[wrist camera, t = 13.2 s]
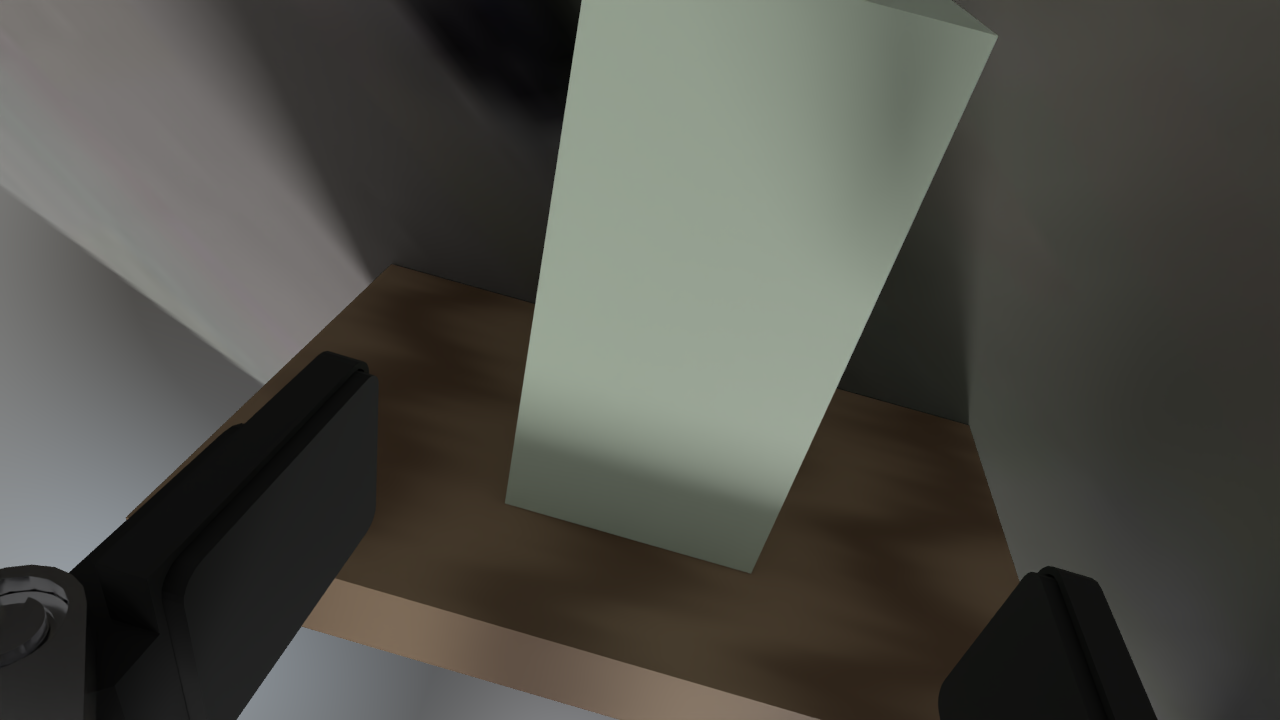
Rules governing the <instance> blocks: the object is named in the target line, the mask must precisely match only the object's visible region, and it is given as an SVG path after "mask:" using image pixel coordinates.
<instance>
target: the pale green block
mask: <svg viewBox="0 0 1280 720" xmlns="http://www.w3.org/2000/svg"><path fill="white" fill-rule="evenodd" d="M997 38H998V35H997V34H995V33H994V32H993V31H991V30H990V29H989V28H987V27H986V26H985V25H983V24H982V23H981V22H980V21H978V20H977V19H976V18H974V17H973V16H972V15H970V14H969V13H968V12H966V11H965V10H964V9H963V8H961V7H960V6H959V5H957V4H956V3H955V2H953V1H952V0H582V2H581V9H580V15H579V22H578V28H577V35H576V42H575V48H574V55H573V61H572V68H571V74H570V81H569V87H568V94H567V100H566V107H565V113H564V120H563V126H562V133H561V139H560V146H559V153H558V159H557V166H556V172H555V179H554V185H553V192H552V198H551V205H550V211H549V218H548V224H547V231H546V237H545V244H544V250H543V257H542V264H541V270H540V277H539V283H538V290H537V296H536V303H535V309H534V316H533V322H532V329H531V335H530V342H529V348H528V355H527V362H526V368H525V375H524V381H523V388H522V394H521V401H520V407H519V414H518V420H517V427H516V433H515V440H514V446H513V453H512V459H511V466H510V473H509V479H508V486H507V492H506V499H505V504H509V505H512V506H516V507H519V508H523V509H526V510H530V511H533V512H537V513H540V514H544V515H547V516H551V517H554V518H558V519H561V520H565V521H568V522H572V523H575V524H579V525H582V526H586V527H589V528H593V529H596V530H600V531H603V532H607V533H610V534H614V535H617V536H621V537H624V538H628V539H631V540H635V541H638V542H642V543H645V544H649V545H652V546H656V547H659V548H663V549H666V550H670V551H673V552H677V553H680V554H684V555H687V556H691V557H694V558H698V559H701V560H705V561H708V562H712V563H715V564H719V565H722V566H726V567H729V568H733V569H736V570H740V571H743V572H747V573H750V574H751V573H752V570H753V568H754V566H755V564H756V562H757V560H758V557H759V555H760V553H761V551H762V549H763V547H764V544H765V542H766V540H767V538H768V536H769V534H770V531H771V529H772V527H773V525H774V523H775V520H776V518H777V516H778V514H779V512H780V510H781V507H782V505H783V503H784V501H785V499H786V497H787V494H788V492H789V490H790V488H791V486H792V484H793V481H794V479H795V477H796V475H797V473H798V470H799V468H800V466H801V464H802V462H803V460H804V457H805V455H806V453H807V451H808V449H809V447H810V444H811V442H812V440H813V438H814V436H815V434H816V431H817V429H818V427H819V425H820V423H821V420H822V418H823V416H824V414H825V412H826V410H827V407H828V405H829V403H830V401H831V399H832V397H833V394H834V392H835V390H836V388H837V386H838V384H839V381H840V379H841V377H842V375H843V373H844V371H845V368H846V366H847V364H848V362H849V360H850V357H851V355H852V353H853V351H854V349H855V347H856V344H857V342H858V340H859V338H860V336H861V334H862V331H863V329H864V327H865V325H866V323H867V321H868V318H869V316H870V314H871V312H872V310H873V307H874V305H875V303H876V301H877V299H878V297H879V294H880V292H881V290H882V288H883V286H884V284H885V281H886V279H887V277H888V275H889V273H890V271H891V268H892V266H893V264H894V262H895V260H896V257H897V255H898V253H899V251H900V249H901V247H902V244H903V242H904V240H905V238H906V236H907V234H908V231H909V229H910V227H911V225H912V223H913V221H914V218H915V216H916V214H917V212H918V210H919V207H920V205H921V203H922V201H923V199H924V197H925V194H926V192H927V190H928V188H929V186H930V184H931V181H932V179H933V177H934V175H935V173H936V171H937V168H938V166H939V164H940V162H941V160H942V157H943V155H944V153H945V151H946V149H947V147H948V144H949V142H950V140H951V138H952V136H953V134H954V131H955V129H956V127H957V125H958V123H959V121H960V118H961V116H962V114H963V112H964V110H965V107H966V105H967V103H968V101H969V99H970V97H971V94H972V92H973V90H974V88H975V86H976V84H977V81H978V79H979V77H980V75H981V73H982V71H983V68H984V66H985V64H986V62H987V60H988V58H989V55H990V53H991V51H992V49H993V47H994V44H995V42H996V40H997Z"/></svg>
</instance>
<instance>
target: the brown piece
mask: <svg viewBox="0 0 1280 720" xmlns="http://www.w3.org/2000/svg"><path fill="white" fill-rule="evenodd" d="M534 309H535V304H533V303H529V302H526V301H522V300H518V299H515V298H511V297H508V296H504V295H501V294H497V293H493V292H490V291H486V290H483V289H479V288H475V287H472V286H468V285H465V284H461V283H458V282H454V281H450V280H447V279H443V278H440V277H436V276H433V275H429V274H425V273H422V272H418V271H415V270H411V269H407V268H404V267H400V266H397V265H393V264H391V265H390V266H389V267H388V268H387V269H386V270H385V271H384V272H383V273H382V274H380V275H379V276H378V277H377V278H376V279H375V280H374V281H373V282H372V283H371V284H370V285H369V286H368V287H367V288H366V289H365V290H364V291H363V292H362V293H361V294H359V295H358V296H357V297H356V298H355V299H354V300H353V301H352V302H351V303H350V304H349V305H348V306H347V307H346V308H345V309H344V310H343V311H342V312H341V313H340V314H339V315H337V316H336V317H335V318H334V319H333V320H332V321H331V322H330V323H329V324H328V325H327V326H326V327H325V328H324V329H323V330H322V331H321V332H320V333H319V334H318V335H317V336H315V337H314V338H313V339H312V340H311V341H310V342H309V343H308V344H307V345H306V346H305V347H304V348H303V349H302V350H301V351H300V352H299V353H298V354H297V355H296V356H295V357H293V358H292V359H291V360H290V361H289V362H288V363H287V364H286V365H285V366H284V367H283V368H282V369H281V370H280V371H279V372H278V373H277V374H276V375H275V376H274V377H273V378H271V379H270V380H269V381H268V382H267V383H266V384H265V385H264V386H263V387H262V388H261V389H260V390H259V391H258V392H257V393H256V394H255V395H254V396H253V397H252V398H251V399H249V400H248V401H247V402H246V403H245V404H244V405H243V406H242V407H241V408H240V409H239V410H238V411H237V412H236V413H235V414H234V415H233V416H232V417H231V418H230V419H228V420H227V422H225V423H224V424H223V425H222V426H221V427H220V428H219V429H218V430H217V431H216V432H215V433H214V434H213V435H212V436H211V437H210V438H209V439H208V440H207V441H205V442H204V443H203V444H202V445H201V446H200V447H199V448H198V449H197V450H196V451H195V452H194V453H193V454H192V455H191V456H190V457H189V458H188V459H187V460H186V461H184V462H183V463H182V465H180V466H179V467H178V468H177V469H176V470H175V471H174V472H173V473H172V474H171V475H170V476H169V477H168V478H167V479H166V480H165V481H164V482H162V484H160V485H159V486H158V487H157V488H156V489H155V490H154V491H153V492H152V493H151V494H150V495H149V496H148V497H147V498H146V499H145V500H144V501H143V502H142V503H141V504H139V505H138V506H137V507H136V508H135V509H134V510H133V511H132V512H131V513H130V514H129V515H128V516H127V517H126V520H127V519H128V518H130V517H131V516H132V515H133V514H134V513H135V512H136V511H137V510H138V509H139V508H141V507H142V506H143V505H144V504H145V503H146V502H147V501H148V500H149V499H150V498H152V497H153V496H154V495H155V494H156V493H157V492H158V491H159V490H160V489H161V488H162V487H164V486H165V485H166V484H167V483H168V482H169V481H170V480H171V479H172V478H173V477H175V476H176V475H177V474H178V473H179V472H180V471H181V470H182V469H183V468H184V467H186V466H187V465H188V464H189V463H190V462H191V461H192V460H193V459H194V458H195V457H197V456H198V455H199V454H200V453H201V452H202V451H203V450H204V449H205V448H206V447H207V446H209V445H210V444H211V443H212V442H213V441H214V440H215V439H216V438H217V437H218V436H220V435H221V434H222V433H223V432H224V431H226V430H227V429H229V428H230V427H231V426H233V425H237V424H240V423H243V424H245V423H246V422H247V421H248V420H249V419H250V418H251V417H252V416H253V415H254V414H255V413H256V412H257V411H259V410H260V409H261V408H262V407H263V406H264V405H265V404H266V403H267V402H268V401H269V400H270V399H271V398H273V397H274V396H275V395H276V394H277V393H278V392H279V391H280V390H281V389H282V388H283V387H284V386H285V385H287V384H288V383H289V382H290V381H291V380H292V379H293V378H294V377H295V376H296V375H297V374H298V373H299V372H300V371H302V370H303V369H304V368H305V367H306V366H307V365H308V364H309V363H310V362H311V361H312V360H313V359H314V358H316V357H317V356H318V355H319V354H320V353H322V352H324V351H330V352H334V353H337V354H340V355H344V356H347V357H351V358H354V359H357V360H361V361H364V362H365V363H367V365H368V367H369V374H372V375H375V376H377V378H378V382H379V396H378V439H377V482H376V510H375V515H374V518H373V521H372V523H371V526H370V528H369V529H368V531H367V533H366V534H365V536H364V537H363V539H362V540H361V541H360V543H359V544H358V546H357V547H356V549H355V550H354V552H353V553H352V554H351V556H350V557H349V559H348V560H347V562H346V563H345V564H344V566H343V567H342V569H341V570H340V572H339V573H338V575H337V576H336V577H335V579H334V580H333V582H332V583H331V585H330V586H329V587H328V589H327V590H326V592H325V593H324V595H323V596H322V597H321V599H320V600H319V602H318V603H317V605H316V606H315V608H314V609H313V610H312V612H311V613H310V615H309V616H308V618H307V619H306V620H305V622H304V623H303V625H302V627H305V628H309V629H312V630H315V631H319V632H322V633H326V634H330V635H332V636H336V637H339V638H343V639H346V640H350V641H353V642H356V643H360V644H363V645H367V646H370V647H374V648H377V649H380V650H384V651H387V652H391V653H394V654H398V655H401V656H404V657H407V658H411V659H414V660H418V661H421V662H425V663H428V664H431V665H435V666H438V667H442V668H445V669H449V670H452V671H456V672H459V673H462V674H465V675H469V676H472V677H476V678H479V679H483V680H486V681H489V682H493V683H497V684H500V685H503V686H506V687H510V688H513V689H517V690H520V691H524V692H527V693H530V694H534V695H537V696H541V697H544V698H547V699H551V700H554V701H558V702H561V703H564V704H568V705H571V706H575V707H578V708H582V709H585V710H588V711H592V712H595V713H599V714H602V715H605V716H609V717H612V718H616V719H619V720H940V716H939V710H938V696H939V691H940V688H941V685H942V683H943V682H944V680H945V679H946V677H947V676H948V675H949V674H950V672H951V671H952V670H953V668H954V667H955V666H956V664H957V663H958V662H959V661H960V659H961V658H962V657H963V655H964V654H965V653H966V651H967V650H968V649H969V648H970V646H971V645H972V644H973V642H974V641H975V640H976V638H977V637H978V636H979V635H980V633H981V632H982V631H983V629H984V628H985V627H986V625H987V624H988V623H989V622H990V620H991V619H992V618H993V616H994V615H995V614H996V612H997V611H998V610H999V609H1000V607H1001V606H1002V605H1003V603H1004V602H1005V601H1006V599H1007V598H1008V597H1009V596H1010V594H1011V593H1012V592H1013V590H1014V589H1015V588H1016V586H1017V585H1018V584H1019V583H1020V582H1019V579H1018V576H1017V573H1016V569H1015V566H1014V563H1013V560H1012V557H1011V554H1010V551H1009V548H1008V545H1007V541H1006V538H1005V535H1004V532H1003V529H1002V526H1001V523H1000V520H999V517H998V514H997V510H996V507H995V504H994V501H993V498H992V495H991V492H990V489H989V486H988V482H987V479H986V476H985V473H984V470H983V467H982V464H981V461H980V458H979V454H978V451H977V448H976V445H975V442H974V439H973V436H972V433H971V430H970V427H969V425H966V424H962V423H959V422H955V421H951V420H948V419H944V418H941V417H937V416H934V415H930V414H926V413H923V412H919V411H916V410H912V409H909V408H905V407H901V406H898V405H894V404H891V403H887V402H883V401H880V400H876V399H873V398H869V397H866V396H862V395H858V394H855V393H851V392H848V391H844V390H841V389H837V388H836V390H835V392H834V394H833V397H832V399H831V401H830V403H829V405H828V407H827V410H826V412H825V414H824V416H823V418H822V420H821V423H820V425H819V427H818V429H817V431H816V434H815V436H814V438H813V440H812V442H811V444H810V447H809V449H808V451H807V453H806V455H805V457H804V460H803V462H802V464H801V466H800V468H799V470H798V473H797V475H796V477H795V479H794V481H793V484H792V486H791V488H790V490H789V492H788V494H787V497H786V499H785V501H784V503H783V505H782V507H781V510H780V512H779V514H778V516H777V518H776V520H775V523H774V525H773V527H772V529H771V531H770V534H769V536H768V538H767V540H766V542H765V544H764V547H763V549H762V551H761V553H760V555H759V557H758V560H757V562H756V564H755V566H754V568H753V570H752V573H751V574H750V573H747V572H743V571H740V570H736V569H733V568H729V567H726V566H722V565H719V564H715V563H712V562H708V561H705V560H701V559H698V558H694V557H691V556H687V555H684V554H680V553H677V552H673V551H670V550H666V549H663V548H659V547H656V546H652V545H649V544H645V543H642V542H638V541H635V540H631V539H628V538H624V537H621V536H617V535H614V534H610V533H607V532H603V531H600V530H596V529H593V528H589V527H586V526H582V525H579V524H575V523H572V522H568V521H565V520H561V519H558V518H554V517H551V516H547V515H544V514H540V513H537V512H533V511H530V510H526V509H523V508H519V507H516V506H512V505H509V504H505V499H506V492H507V486H508V479H509V473H510V466H511V459H512V453H513V446H514V440H515V433H516V427H517V420H518V414H519V407H520V401H521V394H522V388H523V381H524V375H525V368H526V362H527V355H528V348H529V342H530V335H531V329H532V322H533V316H534Z"/></svg>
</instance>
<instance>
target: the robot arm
mask: <svg viewBox="0 0 1280 720" xmlns="http://www.w3.org/2000/svg"><path fill="white" fill-rule="evenodd" d="M378 396H379V382H378V378H377V376H375V375H372V374H369V367H368V365H367V363H365V362H364V361H361V360H357V359H354V358H351V357H347V356H344V355H340V354H337V353H334V352H330V351H324V352H322V353H320V354H319V355H318V356H317V357H316V358H314V359H313V360H312V361H311V362H310V363H309V364H308V365H307V366H306V367H305V368H304V369H303V370H302V371H300V372H299V373H298V374H297V375H296V376H295V377H294V378H293V379H292V380H291V381H290V382H289V383H288V384H287V385H285V386H284V387H283V388H282V389H281V390H280V391H279V392H278V393H277V394H276V395H275V396H274V397H273V398H271V399H270V400H269V401H268V402H267V403H266V404H265V405H264V406H263V407H262V408H261V409H260V410H259V411H257V412H256V413H255V414H254V415H253V416H252V417H251V418H250V419H249V420H248V421H247V422H246V423H245V424H243V423H240V424H237V425H233V426H231V427H230V428H229V429H227V430H226V431H224V432H223V433H222V434H221V435H220V436H218V437H217V438H216V439H215V440H214V441H213V442H212V443H211V444H210V445H209V446H207V447H206V448H205V449H204V450H203V451H202V452H201V453H200V454H199V455H198V456H197V457H195V458H194V459H193V460H192V461H191V462H190V463H189V464H188V465H187V466H186V467H184V468H183V469H182V470H181V471H180V472H179V473H178V474H177V475H176V476H175V477H173V478H172V479H171V480H170V481H169V482H168V483H167V484H166V485H165V486H164V487H162V488H161V489H160V490H159V491H158V492H157V493H156V494H155V495H154V496H153V497H152V498H150V499H149V500H148V501H147V502H146V503H145V504H144V505H143V506H142V507H141V508H139V509H138V510H137V511H136V512H135V513H134V514H133V515H132V516H131V517H130V518H128V519H127V520H126V521H125V522H124V523H123V524H122V525H121V526H120V527H119V528H118V529H117V530H115V531H114V532H113V533H112V534H111V535H110V536H109V537H108V538H107V539H106V540H104V541H103V542H102V543H101V544H100V545H99V546H98V547H97V548H96V549H95V550H94V551H92V552H91V553H90V554H89V555H88V556H87V557H86V558H85V559H84V560H82V561H81V562H80V563H79V564H78V565H77V566H76V567H75V568H74V569H72V571H70V572H69V573H67V572H65V571H63V570H60V569H58V568H56V567H49V566H39V565H24V566H15V567H6V568H3V569H0V720H237V718H238V717H239V715H240V714H241V712H242V711H243V709H244V708H245V707H246V705H247V704H248V702H249V701H250V699H251V698H252V696H253V695H254V693H255V692H256V691H257V689H258V688H259V686H260V685H261V684H262V682H263V681H264V679H265V678H266V676H267V675H268V674H269V672H270V671H271V669H272V668H273V666H274V665H275V663H276V662H277V661H278V659H279V658H280V656H281V655H282V653H283V652H284V651H285V649H286V648H287V646H288V645H289V643H290V642H291V641H292V639H293V638H294V636H295V635H296V633H297V632H298V630H299V629H300V628H301V626H302V625H303V623H304V622H305V620H306V619H307V618H308V616H309V615H310V613H311V612H312V610H313V609H314V608H315V606H316V605H317V603H318V602H319V600H320V599H321V597H322V596H323V595H324V593H325V592H326V590H327V589H328V587H329V586H330V585H331V583H332V582H333V580H334V579H335V577H336V576H337V575H338V573H339V572H340V570H341V569H342V567H343V566H344V564H345V563H346V562H347V560H348V559H349V557H350V556H351V554H352V553H353V552H354V550H355V549H356V547H357V546H358V544H359V543H360V541H361V540H362V539H363V537H364V536H365V534H366V533H367V531H368V529H369V528H370V526H371V523H372V521H373V518H374V515H375V510H376V482H377V439H378ZM938 710H939V716H940V720H1157V717H1156V715H1155V713H1154V710H1153V708H1152V706H1151V703H1150V701H1149V699H1148V696H1147V694H1146V692H1145V689H1144V687H1143V685H1142V682H1141V680H1140V678H1139V675H1138V673H1137V671H1136V668H1135V666H1134V664H1133V661H1132V659H1131V657H1130V654H1129V652H1128V650H1127V647H1126V645H1125V643H1124V640H1123V638H1122V636H1121V633H1120V631H1119V629H1118V626H1117V624H1116V622H1115V619H1114V617H1113V615H1112V612H1111V610H1110V608H1109V605H1108V603H1107V601H1106V598H1105V596H1104V593H1103V591H1102V589H1101V587H1100V586H1099V584H1098V582H1096V581H1095V580H1094V579H1092V578H1089V577H1086V576H1083V575H1079V574H1076V573H1073V572H1069V571H1066V570H1062V569H1059V568H1056V567H1051V566H1047V567H1044V568H1042V569H1041V570H1040V571H1039V572H1038V573H1035V572H1030V573H1028V574H1026V575H1025V576H1024V577H1023V579H1022V580H1021V581H1020V583H1019V584H1018V585H1017V586H1016V588H1015V589H1014V590H1013V592H1012V593H1011V594H1010V596H1009V597H1008V598H1007V599H1006V601H1005V602H1004V603H1003V605H1002V606H1001V607H1000V609H999V610H998V611H997V612H996V614H995V615H994V616H993V618H992V619H991V620H990V622H989V623H988V624H987V625H986V627H985V628H984V629H983V631H982V632H981V633H980V635H979V636H978V637H977V638H976V640H975V641H974V642H973V644H972V645H971V646H970V648H969V649H968V650H967V651H966V653H965V654H964V655H963V657H962V658H961V659H960V661H959V662H958V663H957V664H956V666H955V667H954V668H953V670H952V671H951V672H950V674H949V675H948V676H947V677H946V679H945V680H944V682H943V683H942V685H941V688H940V691H939V696H938Z"/></svg>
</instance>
